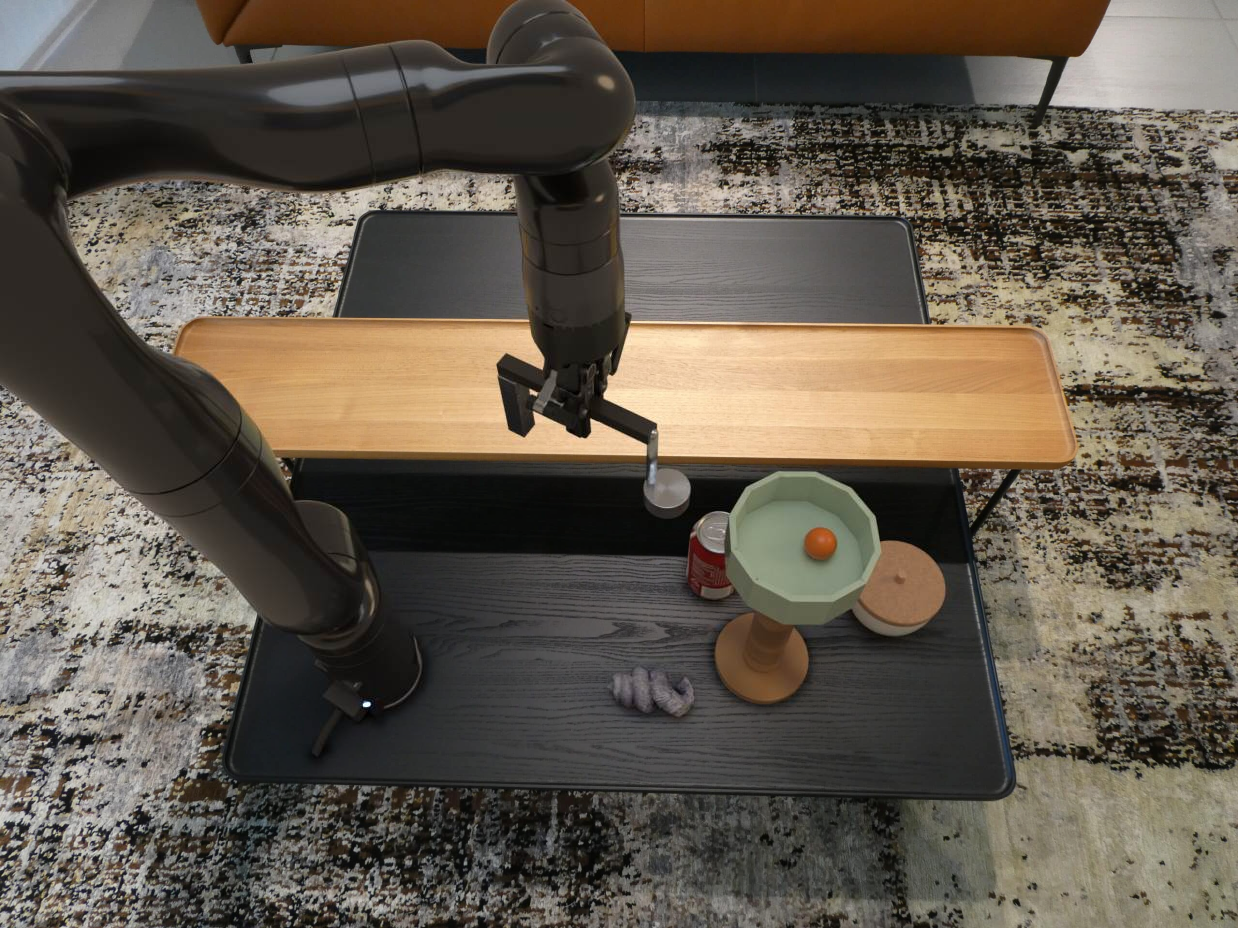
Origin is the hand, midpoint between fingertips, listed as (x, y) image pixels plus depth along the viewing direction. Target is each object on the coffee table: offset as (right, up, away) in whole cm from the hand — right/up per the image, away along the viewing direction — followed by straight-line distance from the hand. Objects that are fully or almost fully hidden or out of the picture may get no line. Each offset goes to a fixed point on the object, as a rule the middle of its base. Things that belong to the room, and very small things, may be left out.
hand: (585, 423), depth 78 cm
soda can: (+15, -18, +29) cm, 38 cm away
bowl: (+20, -13, +2) cm, 23 cm away
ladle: (+1, -4, +5) cm, 6 cm away
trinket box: (+36, -22, +27) cm, 50 cm away
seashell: (+7, -31, +21) cm, 38 cm away
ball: (+22, -11, 0) cm, 24 cm away
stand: (+20, -27, +23) cm, 41 cm away
